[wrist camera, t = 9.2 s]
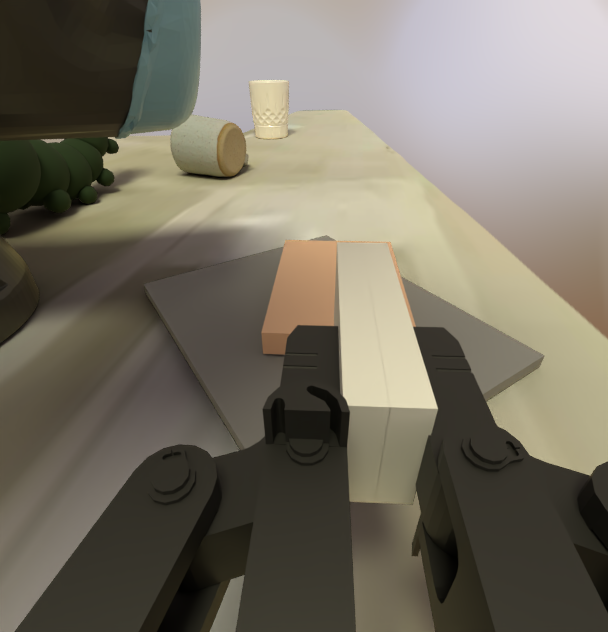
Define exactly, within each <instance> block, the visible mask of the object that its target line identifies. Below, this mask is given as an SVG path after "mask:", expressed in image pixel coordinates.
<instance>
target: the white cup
mask: <svg viewBox="0 0 608 632" xmlns="http://www.w3.org/2000/svg"><path fill="white" fill-rule="evenodd" d="M249 89H250V98H251V107H252V115H253V122H254V124H255V125H254V126H255V135H256V137H257V138H262V139H278V138H284V137H287V136H288V124H287V123H288V108H289V81H285V80H259V81H258V80H257V81H249Z"/></svg>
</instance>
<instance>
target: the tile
mask: <svg viewBox="0 0 608 632" xmlns="http://www.w3.org/2000/svg"><path fill="white" fill-rule="evenodd" d="M337 242H356V243H387V244H388V247H389V250H390V254H391V257H392V260H393V263H394V267H395V270H396V273H397V277H398V280H399V283H400V286H401V290H402V293H403V296H404V299H405V303H406V306H407V309H408V312H409V316H410V319H411V322H412V326H413V327H416V325H415V322H414V319H413V315H412V312H411V309H410V305H409V302H408V299H407V295H406V292H405V289H404V285H403V282H402V279H401V275H400V272H399V269H398V266H397V262H396V259H395V256H394V252H393V249H392V246H391V242H362V241H308V240H285V244H284V248H283V252H282V255H281V259H280V263H279V267H278V271H277V275H276V278H275V282H274V286H273V290H272V294H271V298H270V301H269V305H268V309H267V313H266V317H265V321H264V325H263V328H262V332H261V334H262V346H263V354H283V355H285V349H286V343H287V337H288V336H289V335H290V334H291V332H292V331H293V330H294V329H295V328H296V326H297V325H317V326H334V303H335V279H336V255H337Z"/></svg>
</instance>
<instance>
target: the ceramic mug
mask: <svg viewBox="0 0 608 632" xmlns="http://www.w3.org/2000/svg"><path fill="white" fill-rule="evenodd" d="M171 151H172V155H173V158H174V160H175V162H176V164H177V166H178V167H179V168H180V169H181V170H183V171H184V172H187V173H194V174H201V175H211V176H217V177H231V176H234V175H236V174H237V173H238V172H239V171H240V170H241V168H242V167H243V166H246V165H247V163H248V154H246V141H245V138H244V135H243V133H242V131H241V129H240V128H239V127H238V126H237V125H236V124H234V123H231V122H229V121H226V120H220V119H214V118H209V117H202V116H197V115H192V114H191V115H190V117H189V118H188V119H187V120H186V122H184V123H182V124H181V125H180V126H178V127H176V128H174V129H172V132H171Z"/></svg>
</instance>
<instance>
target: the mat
mask: <svg viewBox="0 0 608 632" xmlns="http://www.w3.org/2000/svg"><path fill="white" fill-rule="evenodd" d="M308 241H336V240H334V239H332V238H330V237H329V236H327V235H326V236H322V237H318V238H315V239H311V240H308ZM283 248H284V247H281V248H277V249H273V250H269V251H266V252H262V253H258V254H254V255H251V256H247V257H243V258H239V259H235V260H232V261H228V262H224V263H220V264H217V265H213V266H209V267H205V268H201V269H198V270H194V271H190V272H186V273H183V274H179V275H175V276H171V277H168V278H164V279H160V280H156V281H152V282H149V283H145V284H144V288H145V292H146V294H147V296H148V298H149V299H150V301H151V303H152V304H153V306H154V308H155V309H156V311H157V313H158V314H159V316H160V318H161V319H162V321H163V323H164V324H165V326H166V328H167V329H168V331H169V333H170V334H171V336H172V338H173V339H174V341H175V342H176V344H177V346H178V347H179V349H180V351H181V352H182V354H183V356H184V357H185V359H186V361H187V362H188V364H189V366H190V367H191V369H192V371H193V372H194V374H195V376H196V377H197V379H198V381H199V382H200V384H201V386H202V387H203V389H204V391H205V392H206V394H207V396H208V397H209V399H210V401H211V402H212V404H213V406H214V407H215V409H216V411H217V412H218V414H219V416H220V417H221V419H222V420H223V422H224V424H225V425H226V427H227V429H228V430H229V432H230V434H231V435H232V437H233V439H234V440H235V442H236V444H237V445H238V447H239V449H240V450H243V449H246V448H249V447H251V446H252V445H254V444H256V443H257V442H259V441H260V440H261V439H262V438H263V437H264V436H265V430H264V420H263V410H262V409H263V407H264V404H265V402H266V400H267V398H268V396H269V395H271V394H272V393H273V392H274V391H275V390H276V389H277V388H278V387H280V383H281V376H282V369H283V363H284V356H285V355H283V354H263V346H262V334H261V332H262V328H263V325H264V321H265V317H266V313H267V309H268V305H269V301H270V298H271V294H272V290H273V286H274V282H275V278H276V275H277V271H278V267H279V263H280V259H281V255H282V252H283ZM401 279H402V282H403V285H404V289H405V292H406V295H407V299H408V302H409V305H410V309H411V312H412V315H413V319H414V322H415V325H416V327H444V328H445V329H446V330H447V331H448V332H449V333H450V334H452V335H453V336H454V337H455V338H456V339H457V340H458V341H459V343H460V345H461V348H462V350H463V352H464V354H465V359H467V361H468V363H469V365H470V368H471V373H473V374H474V376H475V379H476V381H477V383H478V385H479V388H480V390H481V392H482V394H483V396H484V399H485V401H487V400H489V399H491V398H492V397H494V396H495V395H497V394H498V393H500V392H501V391H503V390H504V389H506V388H508V387H509V386H511V385H512V384H514V383H515V382H517V381H518V380H520V379H521V378H523V377H525V376H526V375H528V374H529V373H531V372H532V371H534V370H535V369H537V368H538V367H540V365H541V362H542V360H543V358H544V355H543V354H541V353H539V352H537V351H535V350H533V349H532V348H530V347H528V346H526V345H524V344H523V343H521V342H519V341H517V340H515V339H514V338H512V337H510V336H508V335H506V334H504V333H503V332H501V331H499V330H497V329H495V328H494V327H492V326H490V325H488V324H486V323H485V322H483V321H481V320H479V319H477V318H475V317H474V316H472V315H470V314H468V313H466V312H465V311H463V310H461V309H459V308H457V307H456V306H454V305H452V304H450V303H448V302H446V301H445V300H443V299H441V298H439V297H437V296H436V295H434V294H432V293H430V292H428V291H426V290H425V289H423V288H421V287H419V286H417V285H416V284H414V283H412V282H410V281H408V280H407V279H405V278H403V277H401Z"/></svg>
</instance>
